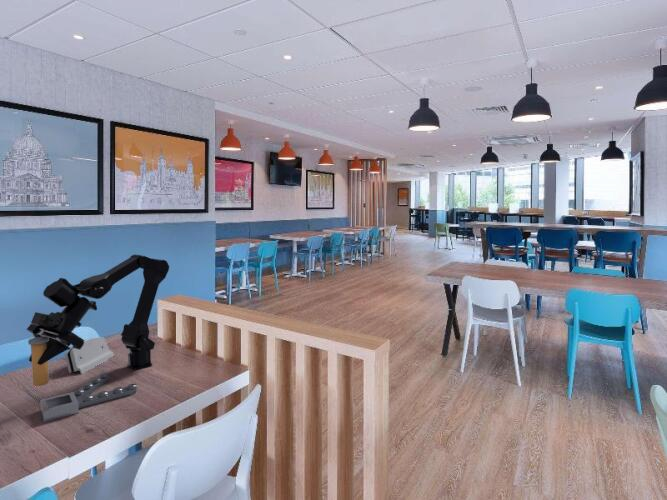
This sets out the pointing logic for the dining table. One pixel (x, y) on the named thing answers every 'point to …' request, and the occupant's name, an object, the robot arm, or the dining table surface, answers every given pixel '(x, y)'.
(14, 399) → the dining table surface
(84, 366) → the hinge
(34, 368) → the pin
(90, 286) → the robot arm
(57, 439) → the dining table surface
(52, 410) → the grey forked bracket
